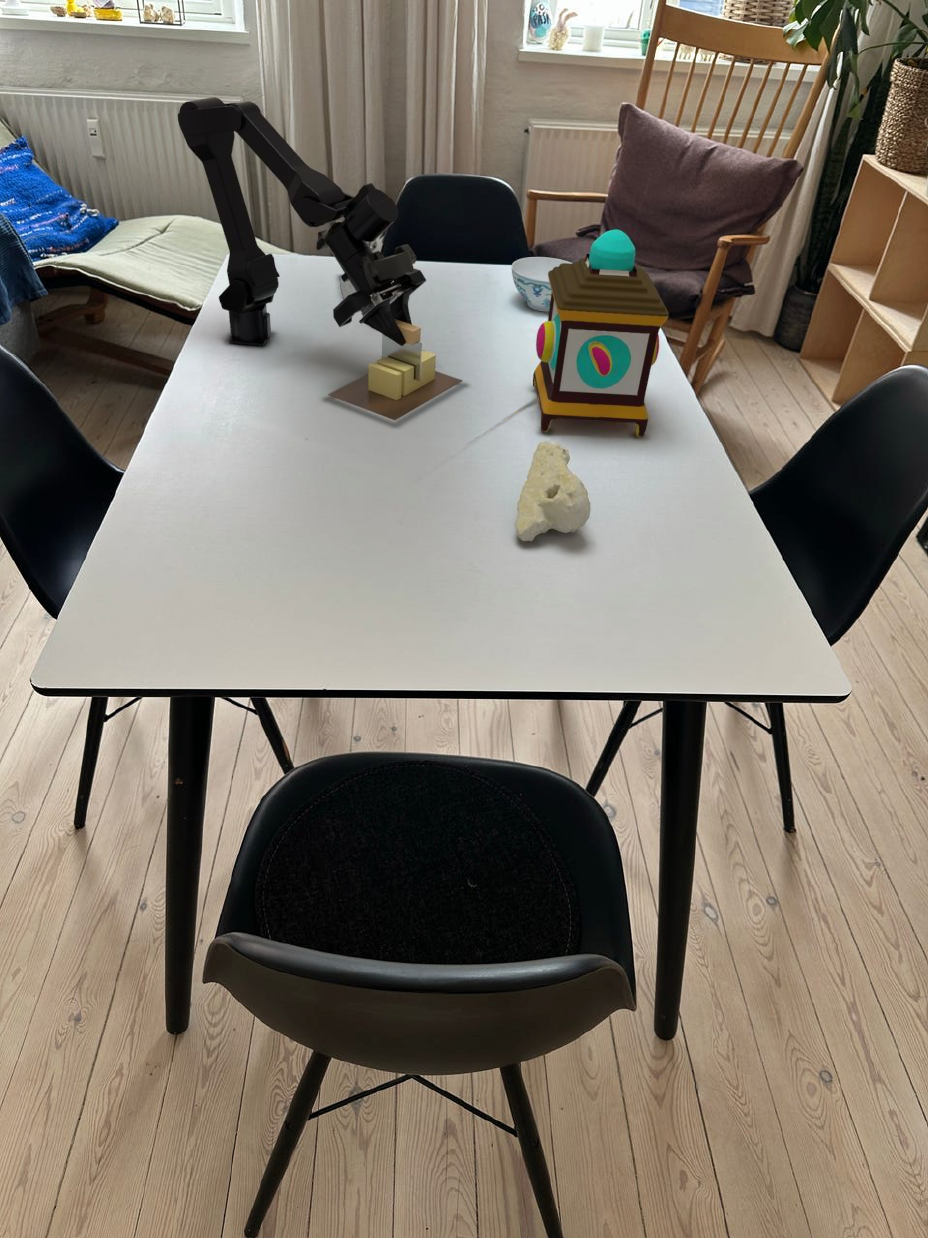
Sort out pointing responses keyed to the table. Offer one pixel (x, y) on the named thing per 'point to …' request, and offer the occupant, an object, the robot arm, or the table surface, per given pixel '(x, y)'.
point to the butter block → (412, 371)
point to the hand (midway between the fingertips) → (408, 342)
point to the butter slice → (385, 381)
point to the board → (388, 406)
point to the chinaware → (535, 280)
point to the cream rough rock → (551, 495)
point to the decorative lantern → (599, 337)
